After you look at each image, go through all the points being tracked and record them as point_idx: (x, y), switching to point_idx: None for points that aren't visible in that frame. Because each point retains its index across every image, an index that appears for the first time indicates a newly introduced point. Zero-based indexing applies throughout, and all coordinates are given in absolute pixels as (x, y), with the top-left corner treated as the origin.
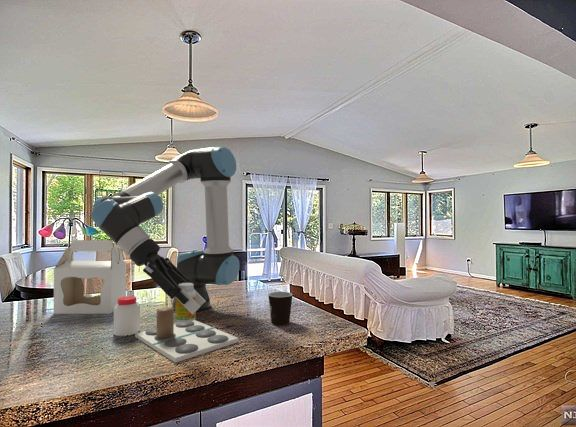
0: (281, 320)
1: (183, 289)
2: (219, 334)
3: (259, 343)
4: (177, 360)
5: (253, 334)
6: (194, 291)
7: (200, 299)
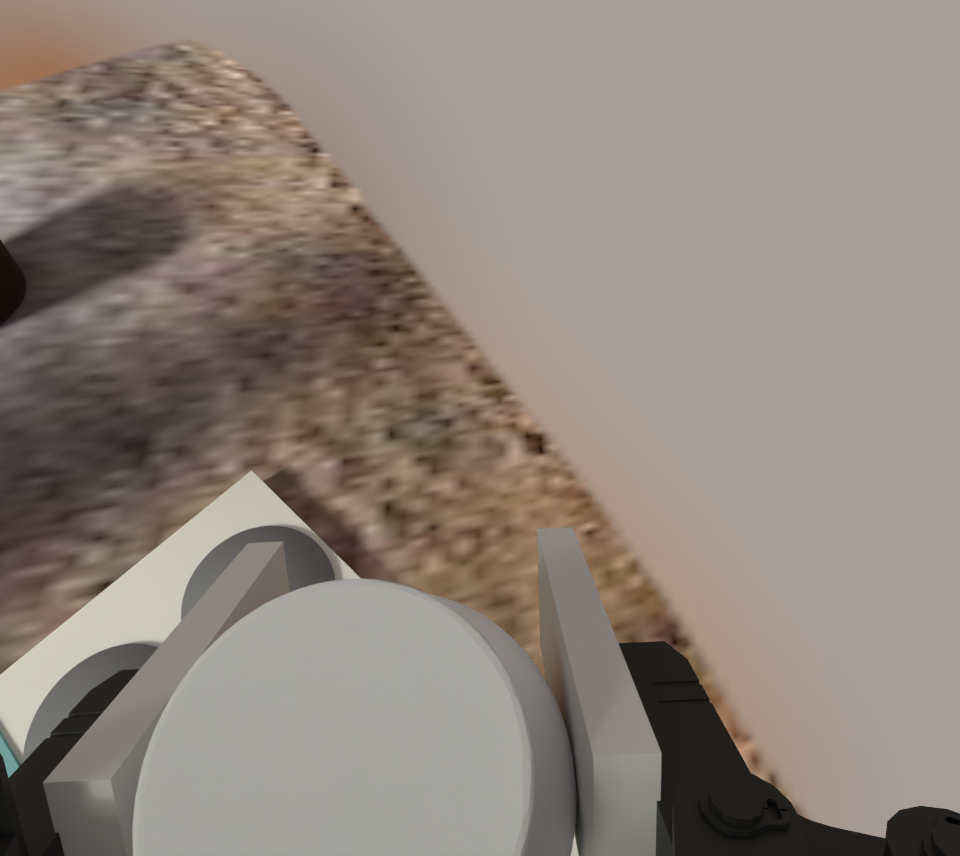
0: (8, 269)
1: (596, 749)
2: (151, 612)
3: (298, 370)
4: None
5: (140, 417)
6: None
7: (262, 596)
